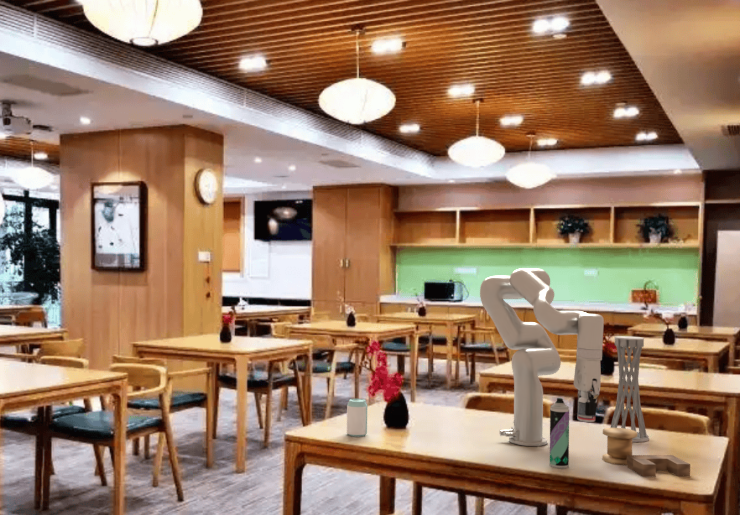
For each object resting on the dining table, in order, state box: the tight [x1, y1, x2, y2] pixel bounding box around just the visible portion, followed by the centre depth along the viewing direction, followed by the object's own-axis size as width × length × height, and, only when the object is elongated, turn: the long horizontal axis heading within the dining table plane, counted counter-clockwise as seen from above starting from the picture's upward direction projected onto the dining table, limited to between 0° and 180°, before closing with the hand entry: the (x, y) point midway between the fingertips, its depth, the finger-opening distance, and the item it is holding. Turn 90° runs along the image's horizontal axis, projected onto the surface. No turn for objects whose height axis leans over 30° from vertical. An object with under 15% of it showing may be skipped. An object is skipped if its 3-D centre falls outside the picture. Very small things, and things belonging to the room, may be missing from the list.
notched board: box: [626, 454, 691, 478], centre depth 206 cm, size 14×10×4 cm
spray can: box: [549, 397, 570, 469], centre depth 210 cm, size 6×6×20 cm
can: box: [346, 398, 368, 437], centre depth 245 cm, size 7×7×12 cm
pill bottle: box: [576, 390, 596, 423], centre depth 217 cm, size 5×5×9 cm
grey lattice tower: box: [610, 335, 650, 443], centre depth 249 cm, size 14×13×35 cm
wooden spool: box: [601, 427, 638, 466], centre depth 217 cm, size 10×10×9 cm
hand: (586, 412), depth 217 cm, fingers closed on pill bottle, 5 cm apart
